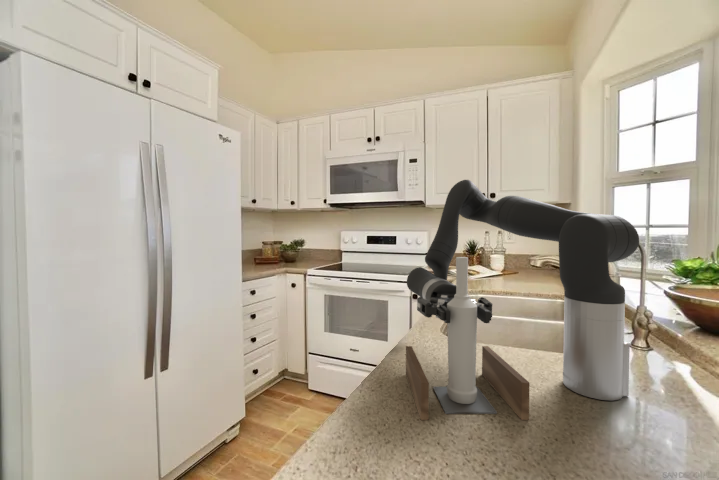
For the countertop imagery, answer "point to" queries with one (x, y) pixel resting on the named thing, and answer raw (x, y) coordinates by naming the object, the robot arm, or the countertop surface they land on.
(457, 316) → the bottle
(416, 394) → the arena
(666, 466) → the countertop surface
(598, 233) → the robot arm
